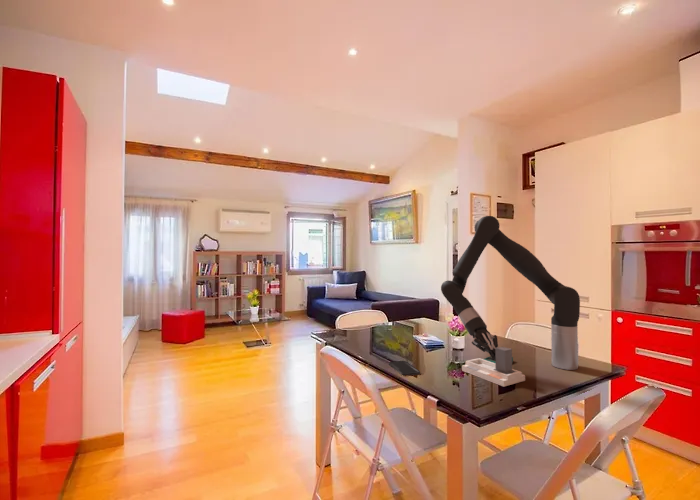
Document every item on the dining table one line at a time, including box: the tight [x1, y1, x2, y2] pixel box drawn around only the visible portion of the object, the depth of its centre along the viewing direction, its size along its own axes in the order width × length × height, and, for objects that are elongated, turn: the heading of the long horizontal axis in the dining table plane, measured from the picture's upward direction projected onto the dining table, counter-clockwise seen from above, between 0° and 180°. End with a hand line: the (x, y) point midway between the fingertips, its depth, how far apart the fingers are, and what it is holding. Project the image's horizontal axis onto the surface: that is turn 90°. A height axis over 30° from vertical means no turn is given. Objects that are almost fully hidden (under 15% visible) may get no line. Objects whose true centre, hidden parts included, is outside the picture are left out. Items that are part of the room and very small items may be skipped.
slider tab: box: [494, 346, 514, 374], centre depth 126 cm, size 5×5×9 cm
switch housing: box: [461, 357, 526, 387], centre depth 131 cm, size 12×19×4 cm, turn 29°
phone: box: [388, 360, 421, 377], centre depth 138 cm, size 8×1×15 cm
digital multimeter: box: [483, 356, 514, 363], centre depth 146 cm, size 7×15×3 cm, turn 133°
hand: (497, 359), depth 129 cm, fingers closed
